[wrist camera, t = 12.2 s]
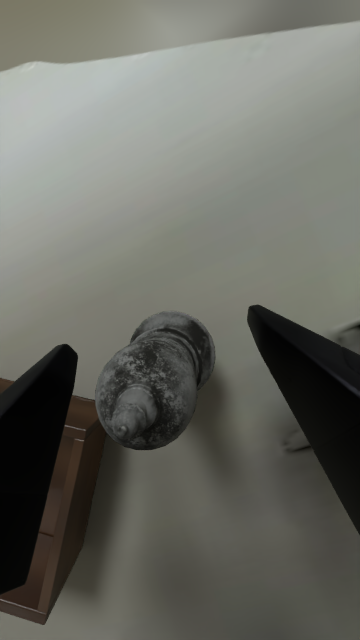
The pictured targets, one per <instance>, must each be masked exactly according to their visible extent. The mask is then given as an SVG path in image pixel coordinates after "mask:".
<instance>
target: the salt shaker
mask: <svg viewBox="0 0 360 640" xmlns="http://www.w3.org/2000/svg"><path fill="white" fill-rule="evenodd" d="M214 363H215V347H214V343H213V340H212V337H211V335H210V334H209V332H208V331H207V329H206V327H205V326H204V325H203V324H202V323H201V322H199V321H198V320H197V319H196V318H194V317H192V316H190V315H188V314H186V313H182V312H177V311H165V312H161V313H158V314H155V315H152V316H151V317H149V318H148V319H146V320H145V321H143V322H142V323H141V325H140V326H139V327H138V328H137V329H136V331H135V332H134V334H133V336H132V338H131V341H130V345H128V346H126V347H125V348H123V349H122V350H120V351H119V352H117V353H116V354H115V355H114V356H113V358H112V359H111V360H110V361H109V362H108V363H107V364H106V365H105V367H104V369H103V370H102V372H101V374H100V376H99V378H98V382H97V386H96V390H95V405H96V409H97V413H98V417H99V420H100V422H101V424H102V426H103V427H104V429H105V431H106V432H107V433H108V434H109V436H110V437H111V438H112V439H113V440H114V441H116V442H118V443H119V444H121V445H123V446H124V447H127V448H131V449H135V450H153V449H156V448H160V447H163V446H166V445H167V444H169V443H170V442H172V441H174V440H175V439H177V438H178V436H179V435H180V434H181V433H182V432H183V431H184V430H185V429H186V427H187V425H188V423H189V421H190V419H191V417H192V415H193V413H194V410H195V406H196V401H197V391H198V390H199V389H200V388H201V387H202V386H203V385H204V384H205V383H206V382H207V381H208V379H209V377H210V375H211V373H212V371H213V367H214Z"/></svg>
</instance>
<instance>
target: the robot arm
mask: <svg viewBox="0 0 360 640" xmlns="http://www.w3.org/2000/svg"><path fill="white" fill-rule="evenodd" d="M247 322H248V325H249V327H250V330H251V332H252V335H253V338H254V340H255V343H256V345H257V347H258V350H259V352H260V354H261V356H262V357H263V359H264V361H265V363H266V365H267V367H268V368H269V370H270V372H271V374H272V376H273V378H274V379H275V381H276V383H277V385H278V387H279V389H280V390H281V392H282V394H283V396H284V398H285V400H286V401H287V403H288V405H289V407H290V409H291V411H292V412H293V414H294V416H295V418H296V420H297V422H298V423H299V425H300V427H301V429H302V431H303V432H304V434H305V436H306V438H307V440H308V442H309V443H310V445H311V447H312V449H313V450H314V453H315V455H316V457H317V458H318V460H319V462H320V464H321V466H322V468H323V469H324V471H325V473H326V475H327V477H328V478H329V480H330V482H331V484H332V486H333V488H334V489H335V491H336V493H337V495H338V497H339V499H340V500H341V502H342V504H343V506H344V508H345V510H346V511H347V513H348V515H349V517H350V519H351V521H352V522H353V524H354V526H355V528H356V529H357V531H358V533H359V534H360V355H359V354H357V353H355V352H353V351H351V350H349V349H347V348H345V347H341V346H340V345H339V344H337V343H335V342H333V341H331V340H329V339H327V338H325V337H323V336H321V335H319V334H317V333H315V332H313V331H311V330H309V329H307V328H305V327H303V326H301V325H299V324H297V323H295V322H293V321H291V320H289V319H287V318H285V317H283V316H280V315H278V314H276V313H274V312H272V311H270V310H268V309H266V308H264V307H262V306H260V305H253V306H250V307H249V309H248V316H247ZM77 361H78V355H77V353H76V352H75V351H74V350H73V349H72V348H71V347H70V346H69V345H68V344H62V345H58V346H56V347H55V348H54V349H53V350H51V351H50V352H49V353H48V354H47V355H45V356H44V357H43V358H42V359H41V360H40V361H38V362H37V363H36V364H35V365H34V366H33V367H31V368H30V369H29V370H28V371H27V372H25V373H24V374H23V375H22V376H21V377H20V378H18V379H17V380H16V381H15V382H14V383H13V384H11V385H10V386H9V387H8V388H7V389H5V390H4V391H3V392H2V393H1V394H0V595H1V594H4V593H6V592H9V591H11V590H13V589H16V588H18V587H21V586H23V585H25V584H26V581H27V578H28V575H29V571H30V567H31V563H32V559H33V555H34V550H35V546H36V542H37V538H38V534H39V530H40V526H41V522H42V517H43V513H44V509H45V505H46V501H47V497H48V495H47V494H48V492H49V488H50V484H51V480H52V475H53V471H54V467H55V463H56V459H57V455H58V451H59V447H60V443H61V438H62V434H63V430H64V426H65V422H66V418H67V414H68V410H69V405H70V401H71V397H72V393H73V389H74V383H75V376H76V369H77Z"/></svg>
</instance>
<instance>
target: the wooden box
mask: <svg viewBox="0 0 360 640" xmlns="http://www.w3.org/2000/svg"><path fill="white" fill-rule="evenodd" d="M13 383H14V381H10V380H6V379H2V378H0V394H1V393H2V392H3V391H4V390H5V389H7V388H8V387H9V386H10V385H11V384H13ZM105 437H106V431H105V429H104V427H103V426H102V424H101V422H100V420H99V417H98V413H97V409H96V405H95V400H91V399H87V398H83V397H78V396H74V395H72V397H71V401H70V405H69V410H68V414H67V418H66V422H65V426H64V430H63V434H62V438H61V443H60V447H59V451H58V455H57V459H56V463H55V467H54V471H53V475H52V480H51V484H50V488H49V492H48V494H47V495H48V497H47V501H46V505H45V509H44V513H43V517H42V522H41V526H40V530H39V534H38V538H37V542H36V546H35V550H34V555H33V559H32V563H31V567H30V571H29V575H28V578H27V581H26V584H25V585H23V586H21V587H18V588H16V589H13V590H11V591H9V592H6V593H4V594H1V595H0V611H1V612H4V613H7V614H11V615H14V616H17V617H20V618H23V619H26V620H29V621H32V622H35V623H39V624H42V625H45V623H46V621H47V619H48V617H49V615H50V613H51V611H52V609H53V607H54V605H55V603H56V601H57V598H58V596H59V594H60V592H61V590H62V588H63V586H64V584H65V582H66V580H67V578H68V576H69V574H70V572H71V569H72V567H73V565H74V563H75V561H76V559H77V557H78V555H79V553H80V551H81V549H82V546H83V541H84V536H85V531H86V527H87V522H88V517H89V512H90V508H91V503H92V498H93V494H94V489H95V484H96V479H97V475H98V470H99V465H100V460H101V456H102V451H103V446H104V442H105Z"/></svg>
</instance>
